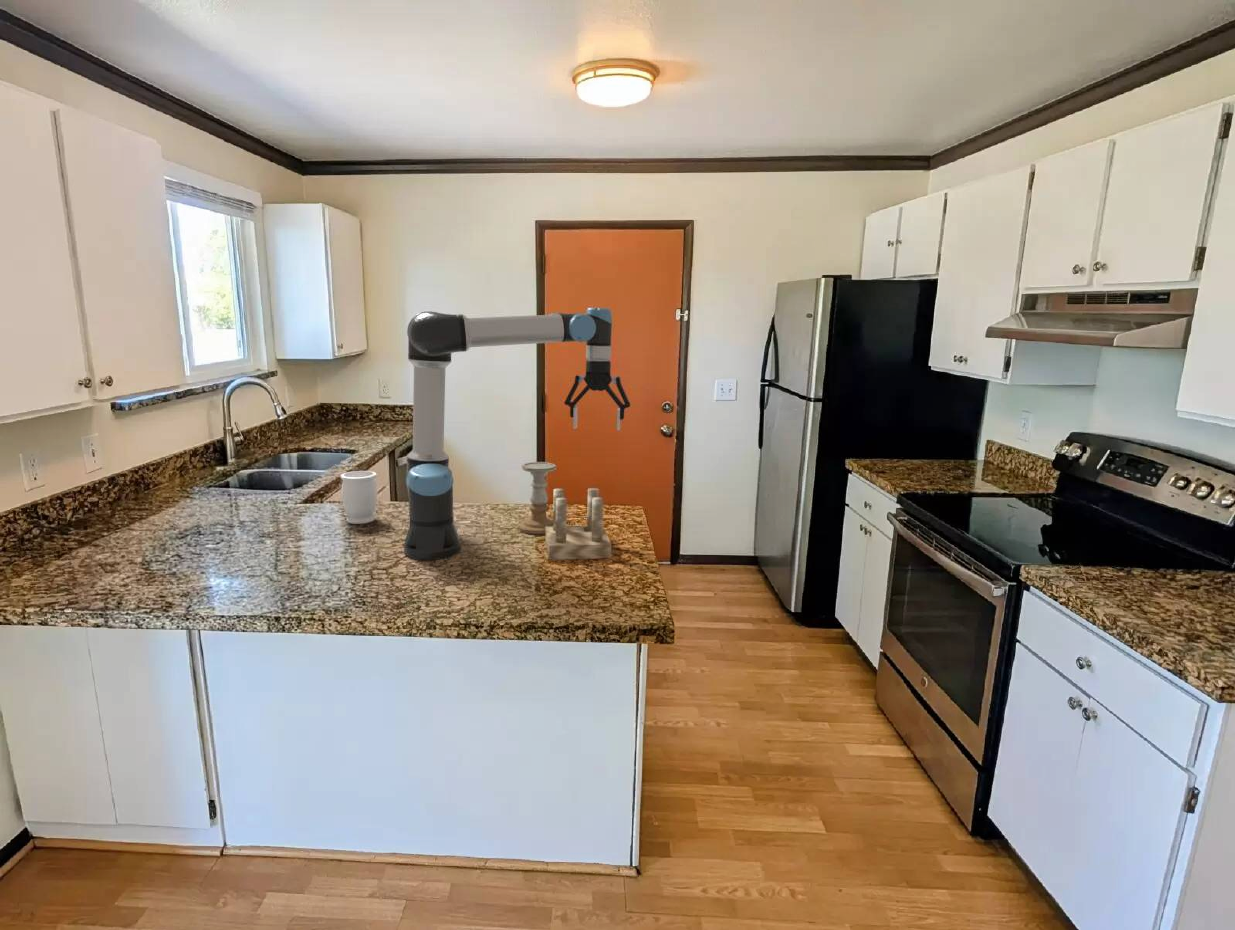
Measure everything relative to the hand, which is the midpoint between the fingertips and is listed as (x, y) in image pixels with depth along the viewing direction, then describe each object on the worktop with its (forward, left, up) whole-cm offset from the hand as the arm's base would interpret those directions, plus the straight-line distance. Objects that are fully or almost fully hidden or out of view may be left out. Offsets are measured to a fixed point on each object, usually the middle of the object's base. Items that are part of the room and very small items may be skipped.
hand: (596, 429), depth 206 cm
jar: (-73, +8, -31) cm, 80 cm away
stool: (-8, -23, -31) cm, 39 cm away
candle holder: (-18, -4, -31) cm, 36 cm away
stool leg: (-3, -18, -31) cm, 36 cm away
